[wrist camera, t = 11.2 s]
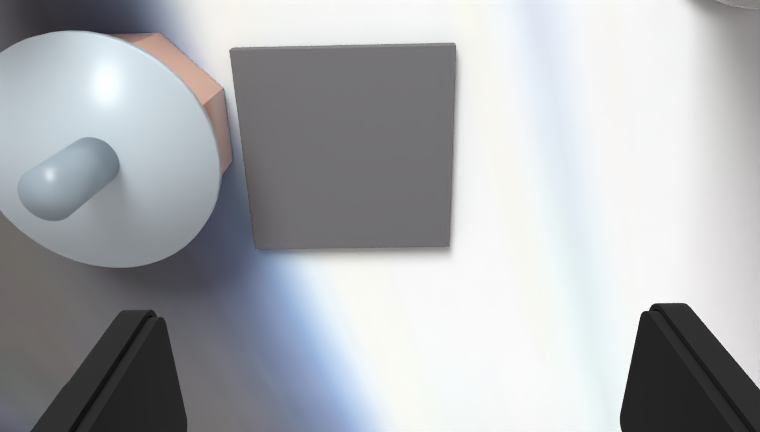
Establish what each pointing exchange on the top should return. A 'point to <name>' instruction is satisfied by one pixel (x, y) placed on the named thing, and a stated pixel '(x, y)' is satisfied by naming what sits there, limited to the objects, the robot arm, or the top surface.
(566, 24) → the top surface
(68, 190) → the lid
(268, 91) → the mat
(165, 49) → the bowl
